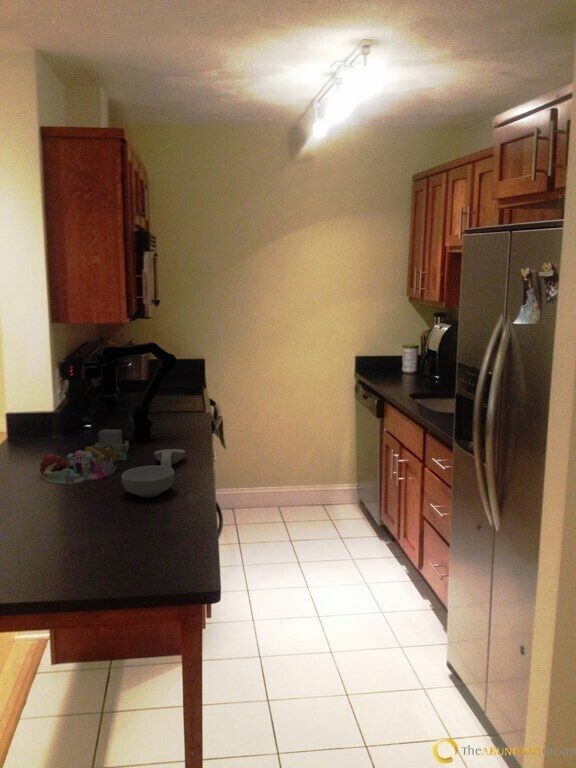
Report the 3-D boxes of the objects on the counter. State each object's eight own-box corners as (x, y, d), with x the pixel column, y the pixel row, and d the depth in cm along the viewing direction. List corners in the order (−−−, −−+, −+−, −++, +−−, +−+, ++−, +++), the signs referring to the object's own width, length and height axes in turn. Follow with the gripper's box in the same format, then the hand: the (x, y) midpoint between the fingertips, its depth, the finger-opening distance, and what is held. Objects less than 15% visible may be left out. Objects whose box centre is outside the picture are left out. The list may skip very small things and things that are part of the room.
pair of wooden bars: (128, 446, 280) (128, 432, 279) (126, 460, 262) (125, 444, 261) (95, 448, 278) (94, 433, 277) (91, 462, 260) (90, 446, 259)
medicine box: (122, 450, 275) (121, 429, 273) (119, 453, 270) (118, 432, 269) (103, 450, 276) (102, 428, 274) (99, 453, 271) (98, 431, 270)
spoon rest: (155, 457, 266) (154, 439, 264) (186, 456, 267) (185, 438, 266) (150, 477, 243) (149, 458, 241) (184, 476, 244) (183, 456, 242)
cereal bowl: (174, 483, 236) (174, 463, 235) (175, 500, 220) (174, 479, 219) (123, 486, 233) (122, 466, 232) (120, 504, 217) (119, 482, 216)
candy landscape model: (79, 460, 263) (78, 436, 262) (129, 468, 253) (128, 444, 251) (29, 480, 241) (27, 454, 240) (81, 489, 231) (79, 463, 229)
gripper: (90, 373, 285) (92, 410, 288) (85, 382, 267) (88, 421, 270) (118, 372, 287) (120, 409, 290) (115, 381, 269) (117, 420, 272)
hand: (111, 415), depth 280 cm, fingers closed
